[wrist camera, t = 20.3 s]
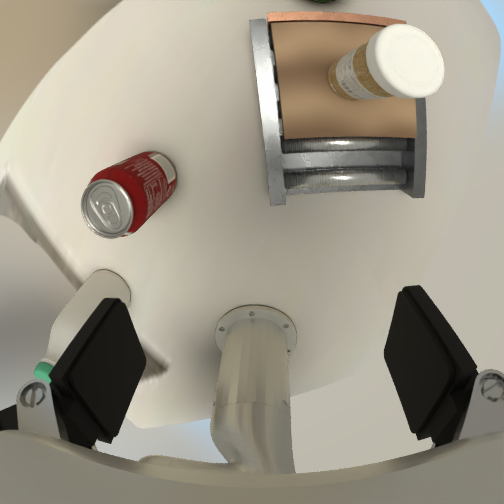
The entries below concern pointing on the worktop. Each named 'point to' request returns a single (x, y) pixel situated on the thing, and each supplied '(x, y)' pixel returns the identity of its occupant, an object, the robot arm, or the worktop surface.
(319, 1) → the bell pepper
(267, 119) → the roller track
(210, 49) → the worktop surface
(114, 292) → the milk bottle
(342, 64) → the sprinkles bottle
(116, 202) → the soda can
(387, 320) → the worktop surface
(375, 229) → the worktop surface
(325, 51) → the slab
